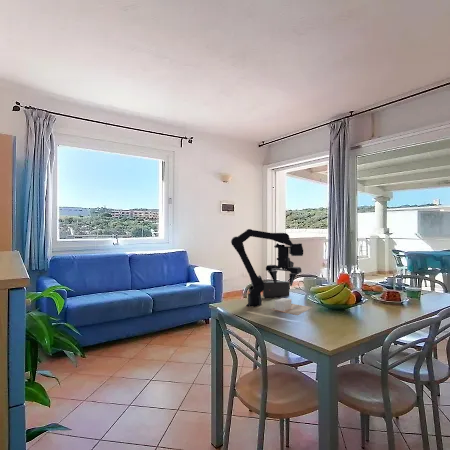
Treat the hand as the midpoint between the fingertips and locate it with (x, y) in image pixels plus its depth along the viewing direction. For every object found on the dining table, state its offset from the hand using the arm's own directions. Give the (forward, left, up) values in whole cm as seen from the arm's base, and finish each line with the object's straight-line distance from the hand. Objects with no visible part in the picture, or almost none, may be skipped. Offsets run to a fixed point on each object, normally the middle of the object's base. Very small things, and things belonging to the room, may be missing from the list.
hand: (283, 284), depth 170 cm
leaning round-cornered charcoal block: (-12, +14, -11) cm, 22 cm away
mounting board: (+8, -6, -11) cm, 15 cm away
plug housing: (+5, -8, -10) cm, 14 cm away
